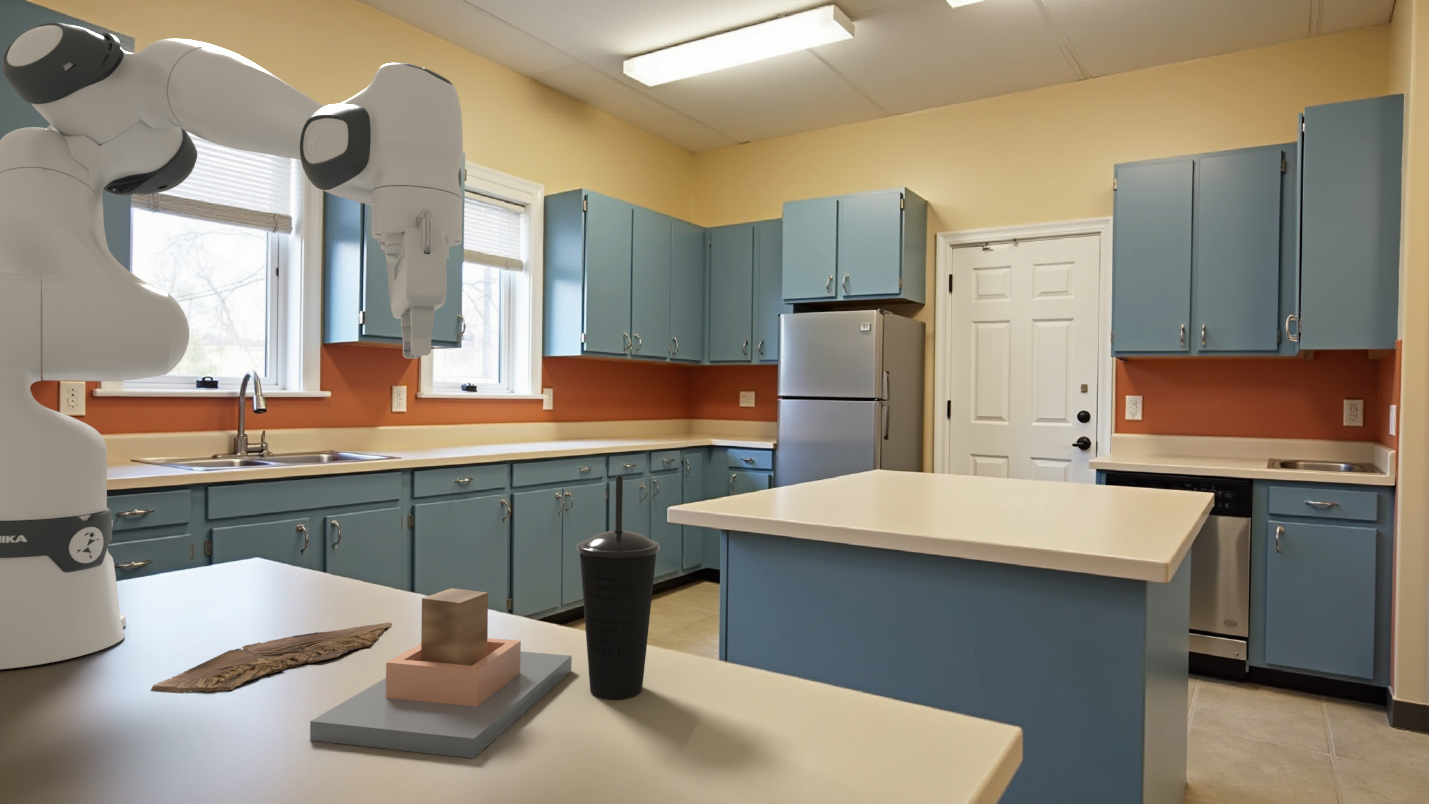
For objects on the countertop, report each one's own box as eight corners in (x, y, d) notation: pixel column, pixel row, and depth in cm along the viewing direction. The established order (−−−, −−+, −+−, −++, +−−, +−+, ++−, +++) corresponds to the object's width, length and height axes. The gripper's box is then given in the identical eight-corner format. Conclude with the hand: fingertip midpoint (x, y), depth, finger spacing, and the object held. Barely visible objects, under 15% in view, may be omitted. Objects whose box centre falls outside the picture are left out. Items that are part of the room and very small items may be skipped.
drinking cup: (596, 712, 71) (599, 482, 71) (561, 685, 77) (564, 474, 77) (672, 695, 75) (675, 478, 75) (633, 671, 82) (636, 470, 81)
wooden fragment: (184, 707, 71) (184, 695, 71) (125, 683, 77) (125, 671, 77) (428, 635, 93) (428, 626, 93) (368, 621, 99) (368, 612, 99)
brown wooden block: (420, 689, 72) (421, 598, 72) (450, 674, 75) (451, 588, 75) (458, 695, 70) (459, 603, 70) (486, 680, 74) (488, 592, 74)
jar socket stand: (310, 740, 65) (310, 683, 64) (442, 659, 84) (443, 615, 84) (473, 758, 62) (474, 699, 62) (571, 670, 81) (572, 625, 81)
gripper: (463, 208, 77) (461, 354, 77) (437, 242, 96) (436, 360, 96) (391, 200, 75) (390, 352, 75) (379, 237, 93) (378, 359, 93)
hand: (416, 357), depth 85 cm, fingers open, 8 cm apart
